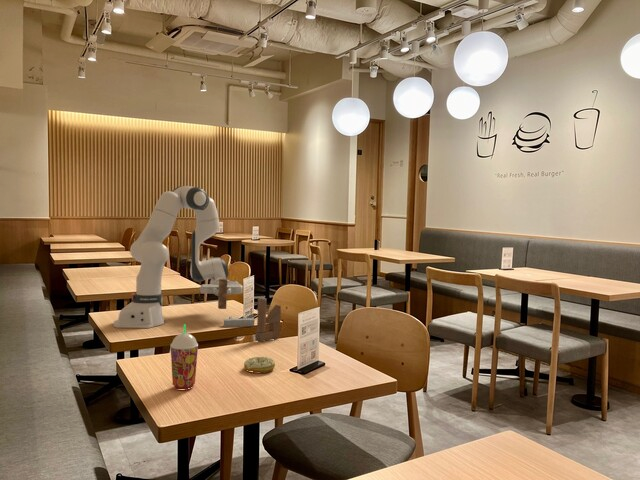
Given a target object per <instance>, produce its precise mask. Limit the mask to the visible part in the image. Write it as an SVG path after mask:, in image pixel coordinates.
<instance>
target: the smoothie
mask: <svg viewBox="0 0 640 480" xmlns="http://www.w3.org/2000/svg"><path fill="white" fill-rule="evenodd" d="M186 328H187V324H186V323H185V324H183V332H182V333H179V334H177V335H176V336H175V337H174V338H173V340H172V342H171V343H170V358H171V378H172V385H173V387H175V388H176V389H188V388H191V387H193V388H194V385H195V384H196V375H197V374H196V373H197V362H198V361H197V360H198V350H199V343H198V342H197V339H196V337H195V336H194V335H192V333H191V334H190V333H188V332H187V331H186V330H187V329H186ZM175 388H174V389H175ZM176 389H175V390H176Z"/></svg>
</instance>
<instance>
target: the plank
mask: <svg viewBox="0 0 640 480" xmlns="http://www.w3.org/2000/svg"><path fill="white" fill-rule="evenodd" d="M227 280H228V278H227V279H226V278H219V295H218V296H217V297H218V298H217V299H218V300H217V301H218V302H217V308H218V310H226V309H227V302H228V301H227V300H228V299H227V298H228V297H227V296H228V295H227Z"/></svg>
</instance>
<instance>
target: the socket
mask: <svg viewBox="0 0 640 480" xmlns="http://www.w3.org/2000/svg"><path fill="white" fill-rule="evenodd" d="M223 326H224V328H233V327H255V318H254V317H251V318H249V317H247V316H246V315H243V316H242V318H234V317H233V316H230V315H229V317H228V318H224V319H223Z"/></svg>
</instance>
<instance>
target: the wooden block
mask: <svg viewBox="0 0 640 480" xmlns="http://www.w3.org/2000/svg"><path fill="white" fill-rule="evenodd" d="M281 309H282V307H281V305H279V304H275V305H274V306H273V308H272V309H271V310H270V312H269V313H268V314H267V298H265V297H259V298H257V318H256V319H257V321H256V323H257V325H256V330H257V331H255V338H254V339H255V341H257V342H265V341H271V340H276V339H280V338H281ZM267 325H268V329H267Z"/></svg>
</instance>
